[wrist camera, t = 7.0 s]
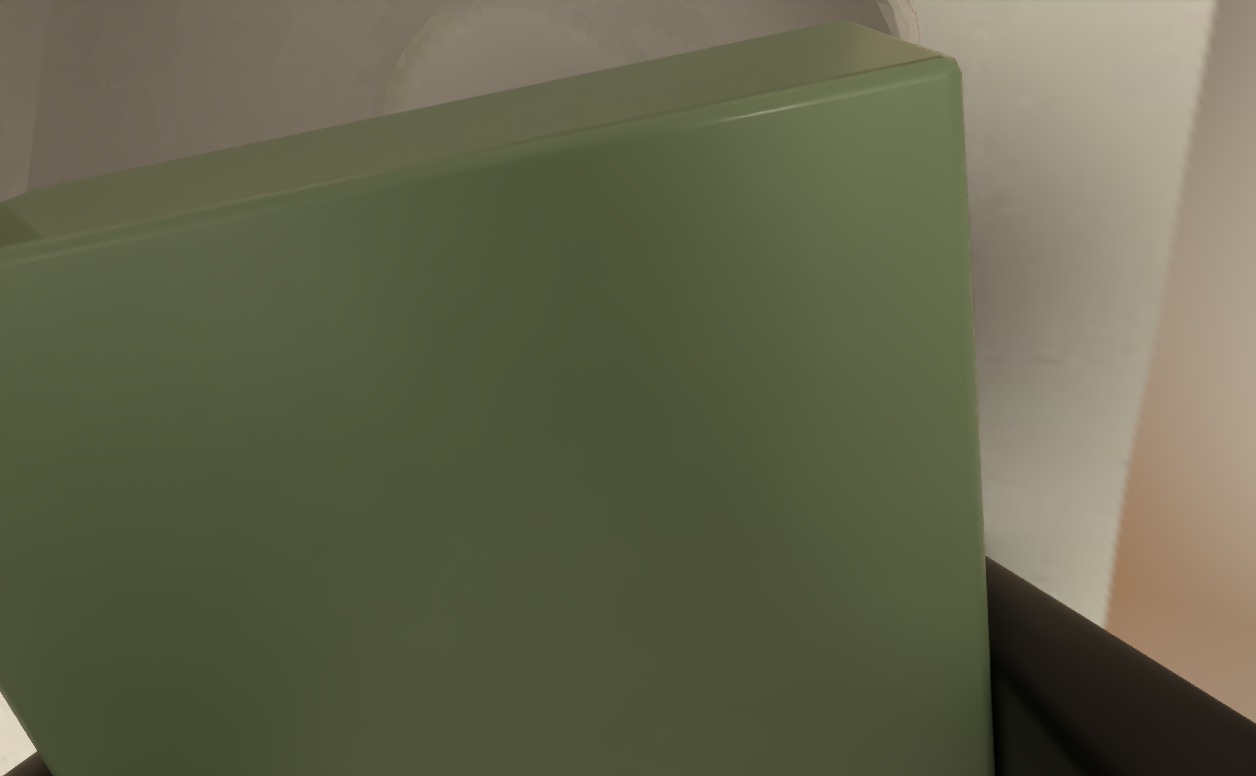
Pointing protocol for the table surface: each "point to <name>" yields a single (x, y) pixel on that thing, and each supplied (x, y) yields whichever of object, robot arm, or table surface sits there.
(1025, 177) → the table surface
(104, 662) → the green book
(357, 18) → the teacup
